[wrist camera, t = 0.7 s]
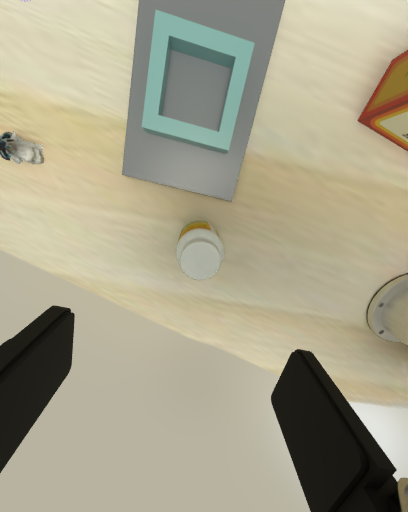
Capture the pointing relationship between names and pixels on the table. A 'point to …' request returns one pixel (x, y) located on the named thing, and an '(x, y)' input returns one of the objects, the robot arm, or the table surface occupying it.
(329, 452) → the robot arm
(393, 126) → the baking soda box
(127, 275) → the table surface
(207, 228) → the supplement bottle
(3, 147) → the sculpture
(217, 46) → the cup stand
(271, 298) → the table surface
